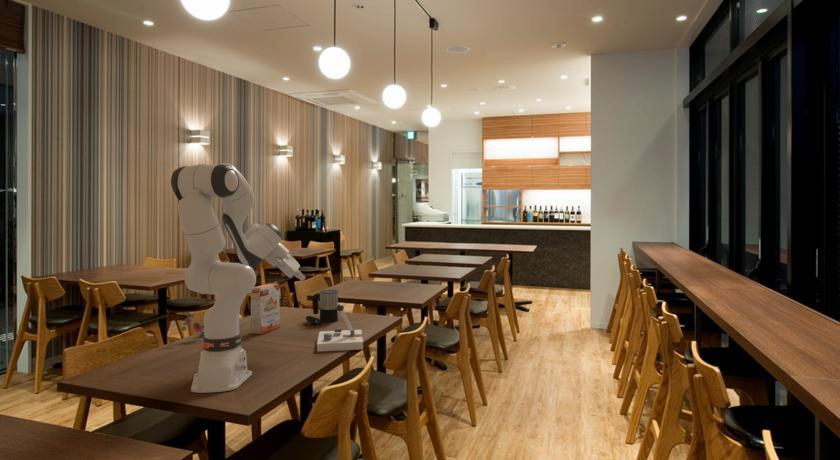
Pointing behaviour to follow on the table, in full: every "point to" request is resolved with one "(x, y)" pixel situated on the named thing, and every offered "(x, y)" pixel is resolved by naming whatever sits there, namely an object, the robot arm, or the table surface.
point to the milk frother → (325, 307)
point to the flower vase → (196, 325)
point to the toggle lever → (345, 318)
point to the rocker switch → (337, 330)
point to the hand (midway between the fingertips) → (304, 279)
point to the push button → (327, 336)
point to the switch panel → (340, 341)
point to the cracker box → (265, 308)
